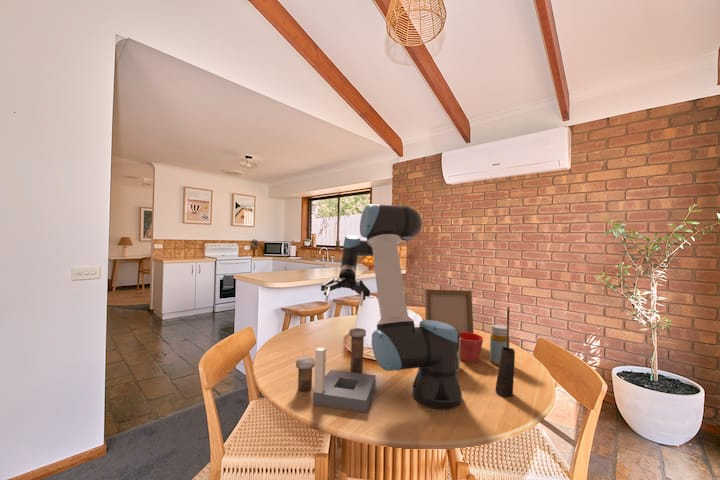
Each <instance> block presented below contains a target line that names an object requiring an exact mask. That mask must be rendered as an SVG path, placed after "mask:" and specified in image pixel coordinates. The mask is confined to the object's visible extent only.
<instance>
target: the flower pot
mask: <svg viewBox="0 0 720 480" xmlns="http://www.w3.org/2000/svg"><path fill="white" fill-rule="evenodd" d="M483 341H484V338H483V336H481V334H477V333H474V332H473V333H469V332H461V341H460V361H463V362H465V363H469V364H470V363H471V364H472V363H473V364H475V363H478V362H479V360H480V355H481V350H482V346H483Z"/></svg>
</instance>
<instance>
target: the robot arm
mask: <svg viewBox="0 0 720 480" xmlns="http://www.w3.org/2000/svg"><path fill="white" fill-rule="evenodd" d="M422 228H423V220H422V217H421V215H420V214H419V212H418V211H416V210H415V209H414V208H413V207H410V206H407V205H393V204H380V203H377V204H376V203H375V204H374V203H372V204H370V203H369V204H367V205H366V206H365V207H364V209H363V210H362V213H361V216H360V221H359V234H360V236H358V235H357V234H356V235H354V234H349V235H346V236H345V237H344V240H343V248H342V256H341V263H340V269H339V273H338V278H335V276H331V277H330V278H329V279H328V280H327V281H325V282H323V283H322V284H321V285H320V291H321V292H323V295H324V296H325V302H326V303H328V300H329V296H330V292H332V291H334V290H336V289H341V288H345V289H350V290H351V291H354V292H355V293H357V294H358V295H359V296H360V298H359V299H360V303H359V306H360V307H362V306H363V302H364V301H365V300H366V297H367V298H369V297H370V296H371V295H370V294H371V290H370V289H369V288H368V287H367V286H366V285H365V283H364V281H363V280H361V279H360V280H359V281H357V280H356V278H357V277H356V276H357V265H358V264H357V263H358V259H359V257H373V265H374V273H375V283H376V291H377V300H378V306H379V307H378V308H379V309H378V310H379V315H380V319H379V320H378V322H377V323H376V329H375V330H374V331H373V332H372V334H371V348H372V353H373V357H374V359H375V361H376V362H377V363H378V364H377V365H378V366H379V367H380V368H381V369H382V370H384V371H387V372H389V371H390V372H391V371H396V372H399V371H401V370H407V369H408V370H409V369H416V368H418V370H417V373H416V374H415V375H416V376H415V378H414V380H413V384H412V393H411V394H412V396H413V398H414V399H415V400H416V401H417V402H418V403H419V404H421V405H423V406H426V407H428V408H432V409H437V410H451V409H455V408H457V407H459V406H460V405H461V404H462V401H463V395H462V393H463V392H462V389H461V386H460V383H459V379H458V375H457V372H456V369H457V343H458V340H457V331H456V329H455V328H454V327H453V326H451V325H449V324H446V323H442V322H438V321H433V320H426V319H422V320H421V321H419V323H418V324H419V325H418V326H415V321H414V319H412V318H411V317H410V316H409V313H408V308H407V302H406V301H407V300H406V294H405V288H404V281H403V274H402V268H401V261H400V254H399V247H398V245H399V244H401V243H402V242H406V241H407V242H408V241H409V242H410V241H411V240H413V239H415V238H416V237H417V236H418V235H419V234H420V232H421V230H422ZM360 237H362V238H366V240H363V239H362V240H361V238H360Z"/></svg>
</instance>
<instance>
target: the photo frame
mask: <svg viewBox="0 0 720 480" xmlns="http://www.w3.org/2000/svg"><path fill="white" fill-rule="evenodd" d="M472 297H473V296H472V290H456V289H455V290H452V289H449V290H447V289H425V290H424V300H425V301H424V303H425V305H424V306H425V307H424V309H425V310H424V311H425V314H424V315H425V317H424V318H425V319H424V320H433V321H438V322H442V323H446V324H449V325H451V326H453V327H454V328H455V329H457V330H459V331H460V332H469V333H474V320H473V318H474V316H473V299H472Z"/></svg>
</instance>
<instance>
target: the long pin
mask: <svg viewBox="0 0 720 480" xmlns="http://www.w3.org/2000/svg"><path fill="white" fill-rule="evenodd" d="M348 333H349V336H350V337H351V339H350V340H351V341H350V343H351V344H350V372H354V373H361V374H364V373H363V371H364V369H363V368H364V340H365V339H364V337H366V336H367V331H366V329H365V328H362V327H361V328H357V327H354V328H350V329H349V332H348Z"/></svg>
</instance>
